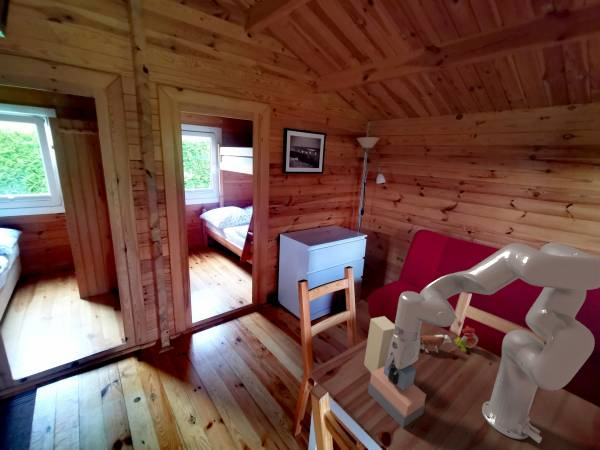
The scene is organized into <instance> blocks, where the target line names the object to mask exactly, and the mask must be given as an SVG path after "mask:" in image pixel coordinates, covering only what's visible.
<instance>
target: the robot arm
mask: <svg viewBox="0 0 600 450" xmlns="http://www.w3.org/2000/svg"><path fill="white" fill-rule="evenodd" d="M518 279H520V280H522V281H523V282H525V283H527V284H529V285H531V286H535V287H541V288H542V287H543V288H542V291H541V292H540V294H539V296H538V297H537V298H536V300H534V303H532V306H531V307H530V308H529V310H528V312H527V313H526V315H525V323H526V325H527V326H528V327H529V329H530V330H531V331H532V332H534V333H535V335H536V336H535V335H534V334H533V333H530V332H529V331H526V330H523V329H515V330H514V329H513V330H510V331H509V332H507V333H506V334H505V336H504V337H503V340H502V343H501V344H502V345H501V360H500V365H499V368H498V371H497V376H496V378H495V382H494V385H493V390H492V393H491V397H490V400H487V401H485V402H484V403H483V404H482V406H481V413H482V415H483V417H484V419H485V420H486V421H487V423H488V424H489V425H490V426H491V427H492V428H494V429H495V430H497V431H498V432H499V433H501V434H503V435H504V436H507V437H509V438H511V439H515V440H525V439H527V438H529V437H530V438H531V439H532V440H534V441H535V442H536V443H538V445H539V444H540V443H541V442H542V440H543V437H542V436H541V435H540V433H541V430H539V429H538V428H536V427H535V426H533V425H532V423H530V421H531V417H530V416H529V413H530V411H531V408H532V405H533V401H534V398H535V395H536V393H537V389H538V388H540V389H542V390H545V391H556V390H557V391H558V390H560V389H562V388H564V387H565V386H566V385H568V384H569V383H570V381H572V379H573V378H574V377H575V375H576V374H577V373H578V372H579V370H580V369H581V368H582V367H583V365H584V364H585V362H586V361H587V360H588V359H589V357H591V355H592V353H593V351H594V348H595V344H596V342H595V337H594V335H593V333H592V332H591V330H590V329H589V328H587V327H586V326H585V325H584V324H582V322H580V321H578V320H577V319H576V316H577V314H578V312H579V311H580V309H581V307H582V306H583V304H584V303H585V302H586V297H587V291H590V290H595V289H599V288H600V257H598V256H596V255H593V254H591V253H588V252H585V251H582V250H580V249H578V248H575V247H572V246H570V245H568V244H563V243H561V242H560V243H559V242H548V243H546V244H544V245H543V246H542V247H540V250H538V249H536V248H534V247H532V246H529V245H526V244H523V243H521V242H520V243H519V242H513V243H509V244H507V245H504V246H503V247H502V248H500V249H499V250H497V251H496V252H494V253H492V254H491V255H489V256H488V257H486V258H484V260H481V262H479V263H477V264H475V265H474V266H472V267H471V268H470V269H467V270H462V271H457V272H454V273H449V274H446V275H444V276H440V277H438V278H437V279H436V280H433V281H432V282H431V283H429V284H427V285H426V286H425V287H424V288H423V289H422V290H421V291H420V293H418V292H415V291H410V290H407V291H403V292H401V294H400V296H399V298H398V303H397V308H396V309H397V310H396V316H395V321H394V325H395V327H394V334H393V337H392V340H391V343H390V347H389V352H388V361H387V363H386V364H385V367H386V368H387V369H388V370H389V376H388V379H389V380H390V381H392V382H393V383H394V384H395V385H396V384H397V382H398V376H399V374H398V371H399V369H403V368H405V367H407V366H409V365H411V366H413V364H414V363H415V362H417V361H418V360H419V354H420V350H421V349H420V337H421V329H422V324H423V323H427V324H430V325H433V326H437V327H444V328H445V327H450V326H452V325H453V324H454V323H455V321H456V319H457V314H456V311H455V310H454V308H453V306H452V305H451V304H450V303H449V301H448V299H450V298H451V297H452V296H455V295H457V294H461V293H467V292H468V293H475V294H480V295H488V296H491V295H493V294H495V293H497V292H499V290H501V289H503V288H505V287H506V286H507V285H510V284H511V283H513V282H515V281H516V280H518ZM537 336H538V337H539V338H538V337H537ZM540 339H541V340H540ZM542 340H543V341H544V342H543V341H542ZM545 343H546V344H545ZM393 365H395V367H396V369H394V368H393Z"/></svg>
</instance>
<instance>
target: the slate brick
mask: <svg viewBox="0 0 600 450" xmlns="http://www.w3.org/2000/svg"><path fill="white" fill-rule="evenodd" d="M387 361H388V358H386V361H385V364H386V363H387ZM393 368H394V369H396V367H395V365H393ZM416 370H417V369H416V368H415V367H414V366H413V365H412V366H411V365H409V366H407V367H405V368H403V369H399V371H398V374H399V376H398V382H397V384H396V385H397V386H398V387H399V388H400V389H402V390H405V389H407V388H409V387H410V386H412V385H413V384H414V382H415V378H416V377H415V376H416ZM384 374H385V375H386V376H387V377H388V376H389V370H388V369H387V368H386V367H384Z"/></svg>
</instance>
